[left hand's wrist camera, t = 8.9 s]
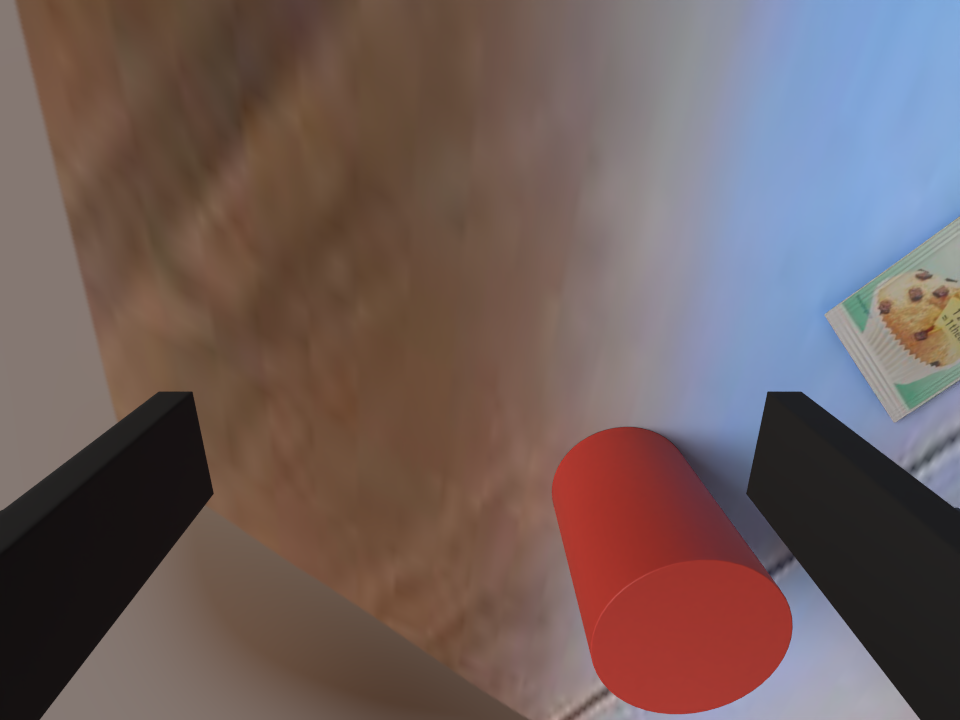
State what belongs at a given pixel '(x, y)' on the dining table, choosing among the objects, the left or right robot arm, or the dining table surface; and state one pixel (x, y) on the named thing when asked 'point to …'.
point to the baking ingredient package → (907, 325)
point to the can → (664, 577)
